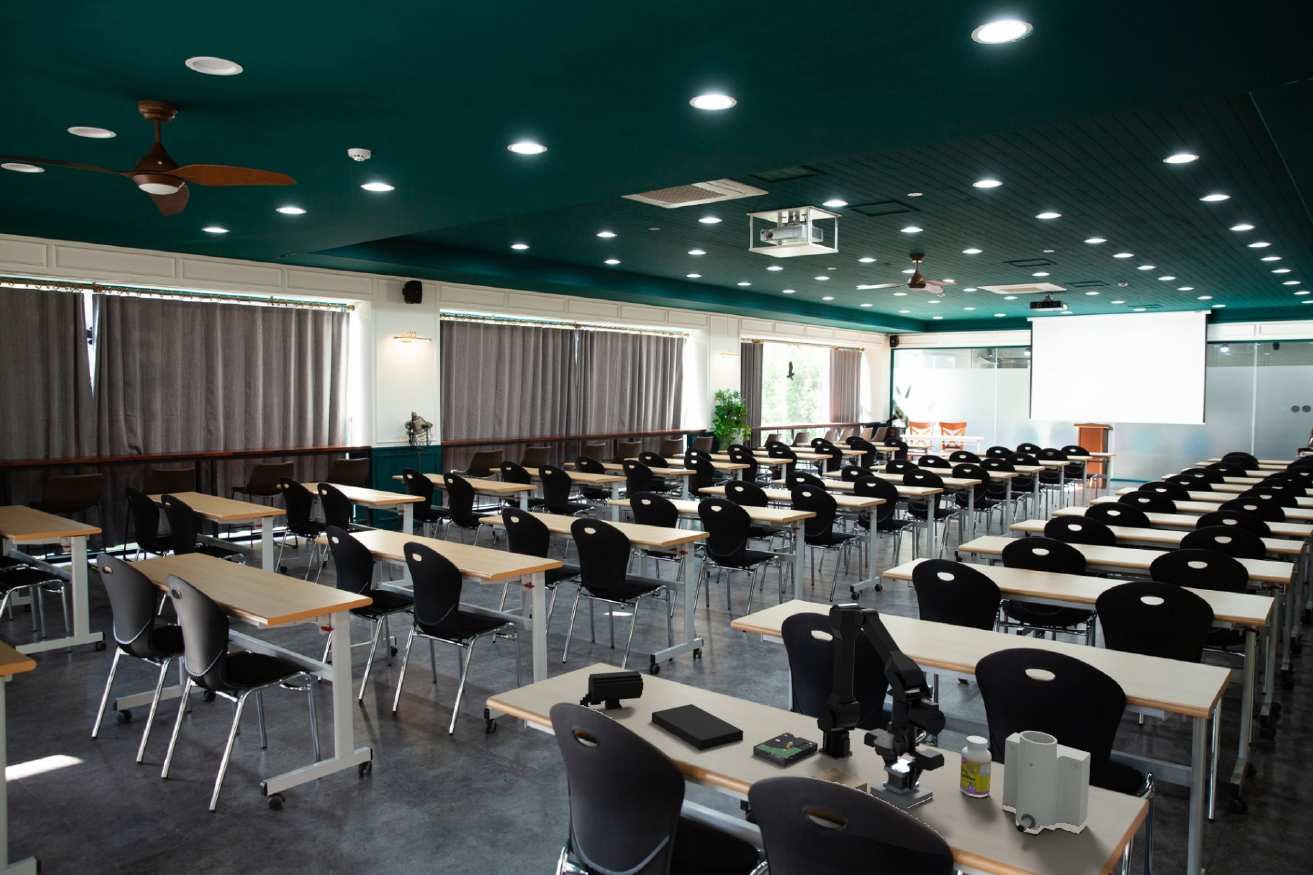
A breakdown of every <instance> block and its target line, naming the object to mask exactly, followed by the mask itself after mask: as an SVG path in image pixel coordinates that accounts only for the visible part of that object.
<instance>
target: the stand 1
mask: <svg viewBox="0 0 1313 875" xmlns="http://www.w3.org/2000/svg"><path fill="white" fill-rule="evenodd" d="M812 777H814V778H818V779H823V780H828V781H831V782H838V783H840V784H846V785H847V786H849V787H854V788H856V789H860V790H862V791H866V792H868V782H867V781H865V780H863V779H860V778H858V777H856V776H853V775H851V774H849V773H847V772H845V771H843V770H840V769H838V768H836V767H832V768H829V769H827V770H823V771H821V772H818V773H816V774H812V775H811V778H812Z"/></svg>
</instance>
